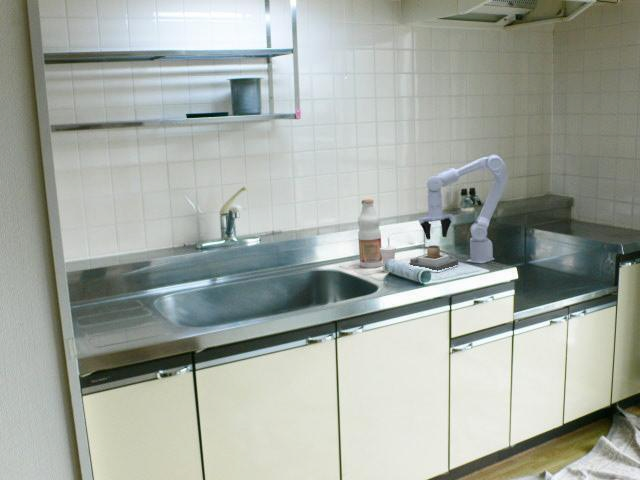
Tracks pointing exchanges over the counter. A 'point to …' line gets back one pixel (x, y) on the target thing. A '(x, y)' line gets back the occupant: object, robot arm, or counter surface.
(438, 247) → the brown short cylinder
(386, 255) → the smoothie
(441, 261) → the grey square box
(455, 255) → the counter surface
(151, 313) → the counter surface
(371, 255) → the fruit juice
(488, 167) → the robot arm
